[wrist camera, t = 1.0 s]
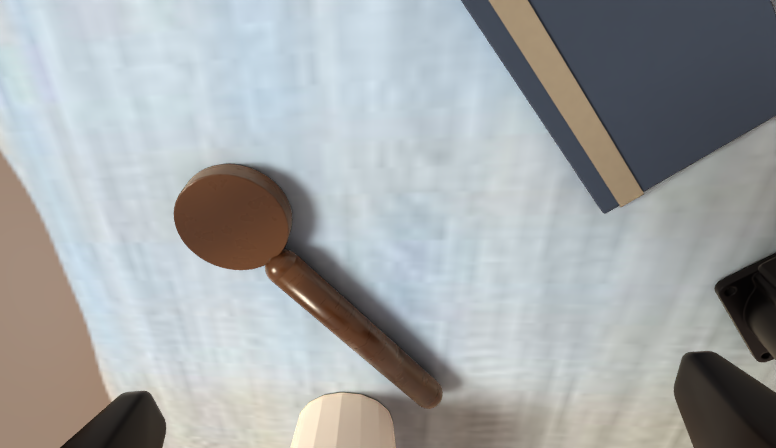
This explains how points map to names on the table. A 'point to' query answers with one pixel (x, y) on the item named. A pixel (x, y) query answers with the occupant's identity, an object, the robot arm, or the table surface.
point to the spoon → (284, 264)
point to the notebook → (637, 80)
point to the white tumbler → (344, 423)
